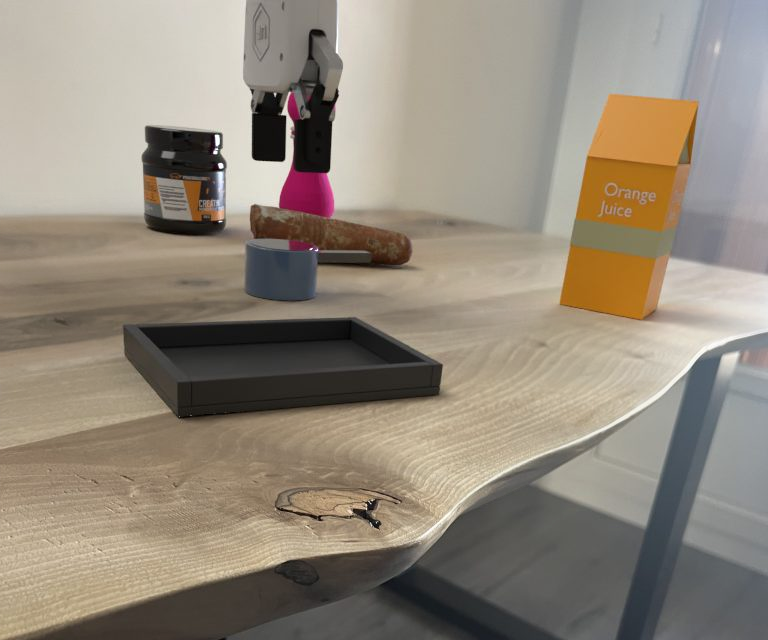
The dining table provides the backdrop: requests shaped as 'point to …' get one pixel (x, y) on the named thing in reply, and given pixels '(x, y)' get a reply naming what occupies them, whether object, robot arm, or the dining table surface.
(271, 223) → the brown elongated bar
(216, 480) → the dining table surface
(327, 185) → the pepper mill
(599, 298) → the orange juice
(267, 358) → the tray
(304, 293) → the pan
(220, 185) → the supplement container
